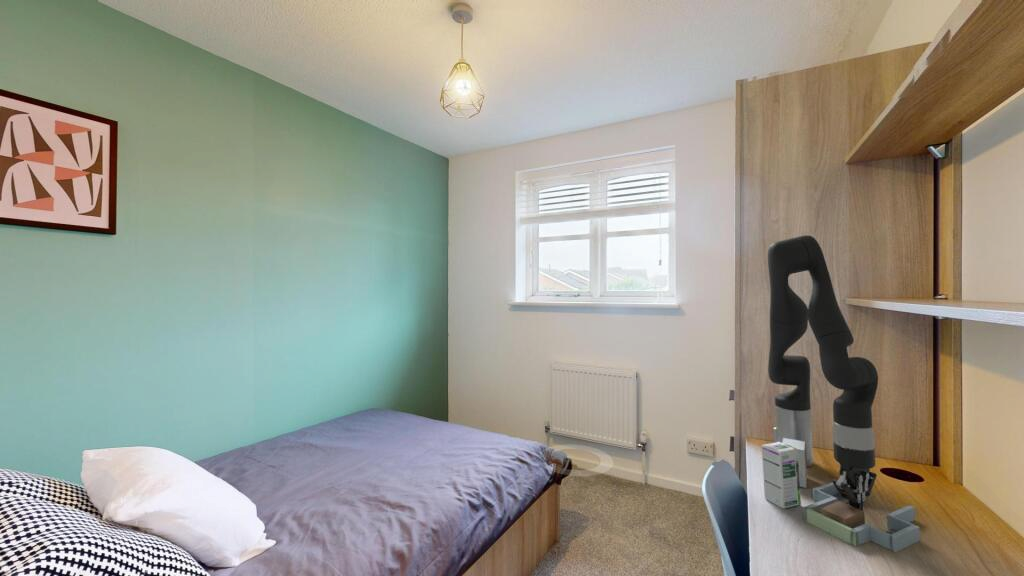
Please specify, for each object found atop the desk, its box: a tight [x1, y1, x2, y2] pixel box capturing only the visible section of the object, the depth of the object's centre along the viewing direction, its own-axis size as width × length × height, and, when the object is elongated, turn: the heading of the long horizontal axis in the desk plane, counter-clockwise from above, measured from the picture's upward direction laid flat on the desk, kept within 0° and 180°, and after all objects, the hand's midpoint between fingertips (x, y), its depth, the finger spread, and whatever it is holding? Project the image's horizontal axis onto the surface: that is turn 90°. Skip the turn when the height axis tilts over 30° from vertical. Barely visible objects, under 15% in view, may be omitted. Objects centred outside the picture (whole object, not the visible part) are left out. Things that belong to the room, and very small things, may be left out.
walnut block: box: [821, 501, 866, 529], centre depth 94 cm, size 5×7×4 cm
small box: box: [782, 438, 808, 489], centre depth 116 cm, size 8×6×10 cm
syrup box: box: [761, 442, 802, 510], centre depth 106 cm, size 6×6×14 cm
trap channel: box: [801, 481, 921, 553], centre depth 96 cm, size 20×22×3 cm
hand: (856, 515), depth 96 cm, fingers closed
